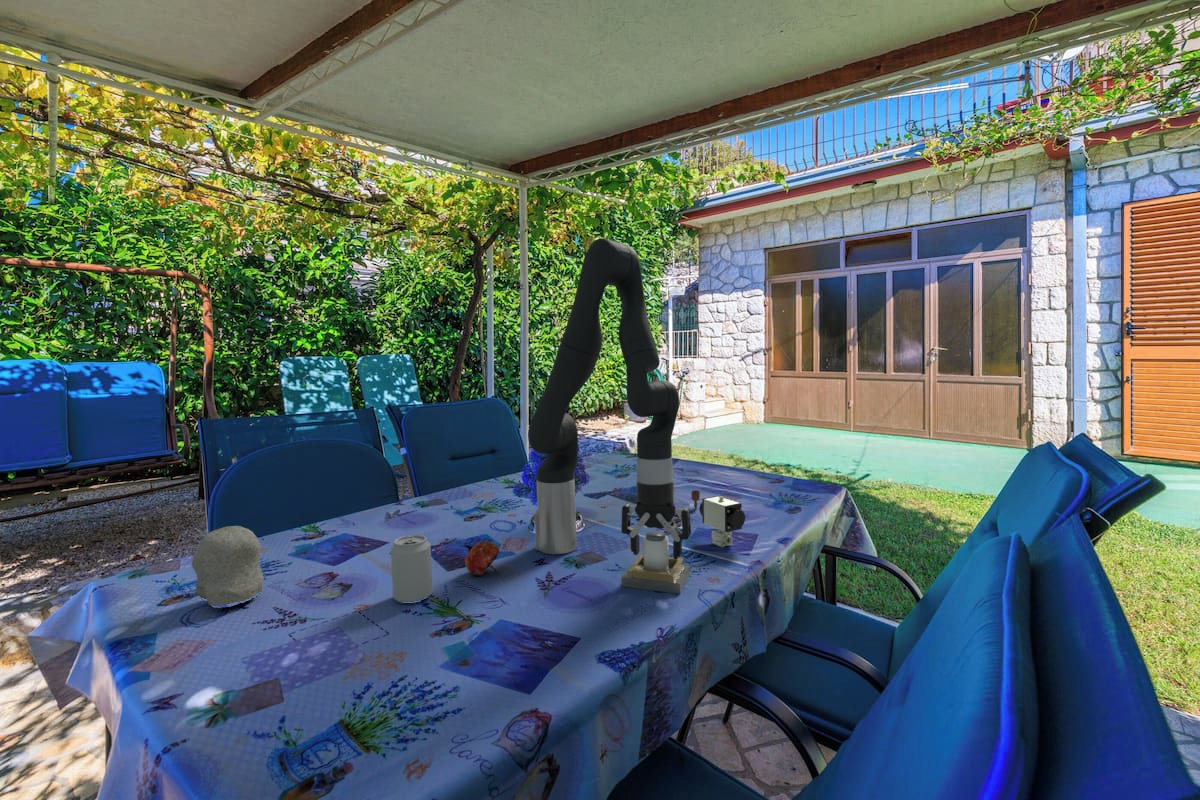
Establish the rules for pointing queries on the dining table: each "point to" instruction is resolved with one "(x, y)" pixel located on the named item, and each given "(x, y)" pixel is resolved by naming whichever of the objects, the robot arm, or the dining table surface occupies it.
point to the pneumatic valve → (722, 518)
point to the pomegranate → (481, 557)
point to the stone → (228, 566)
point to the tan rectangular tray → (657, 576)
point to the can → (411, 568)
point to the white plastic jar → (656, 552)
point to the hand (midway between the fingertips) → (656, 555)
